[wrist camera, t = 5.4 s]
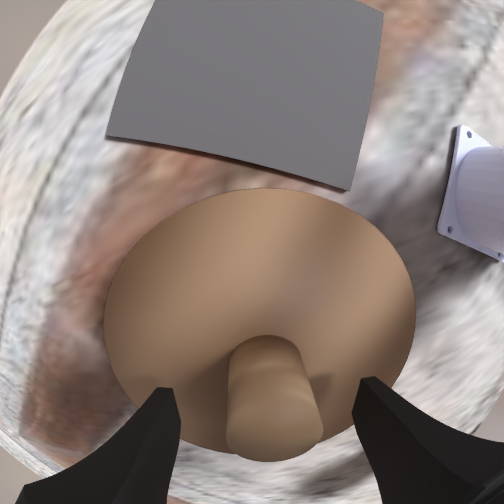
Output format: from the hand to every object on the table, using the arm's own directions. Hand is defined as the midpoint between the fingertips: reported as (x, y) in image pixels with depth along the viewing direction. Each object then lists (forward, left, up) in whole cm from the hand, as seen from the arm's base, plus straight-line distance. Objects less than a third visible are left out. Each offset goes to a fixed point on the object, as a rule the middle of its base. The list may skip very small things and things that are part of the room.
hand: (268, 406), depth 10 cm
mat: (+4, -15, -8) cm, 17 cm away
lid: (0, -1, -3) cm, 3 cm away
